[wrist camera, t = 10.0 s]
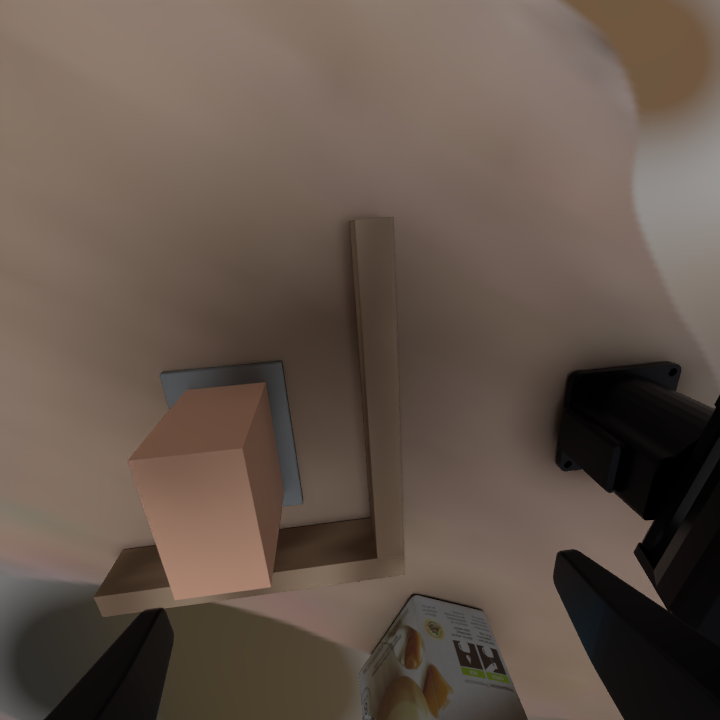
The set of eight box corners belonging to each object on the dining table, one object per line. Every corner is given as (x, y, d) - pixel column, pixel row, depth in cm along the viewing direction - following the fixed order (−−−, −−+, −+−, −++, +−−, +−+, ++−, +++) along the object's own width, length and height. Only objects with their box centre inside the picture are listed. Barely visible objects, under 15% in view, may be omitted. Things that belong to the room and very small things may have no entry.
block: (284, 491, 21) (270, 587, 16) (214, 500, 21) (174, 600, 15) (265, 382, 19) (242, 448, 13) (186, 389, 18) (127, 460, 13)
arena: (381, 218, 17) (393, 217, 14) (394, 533, 24) (404, 574, 21) (4, 245, 16) (-65, 248, 13) (130, 568, 22) (102, 617, 20)
